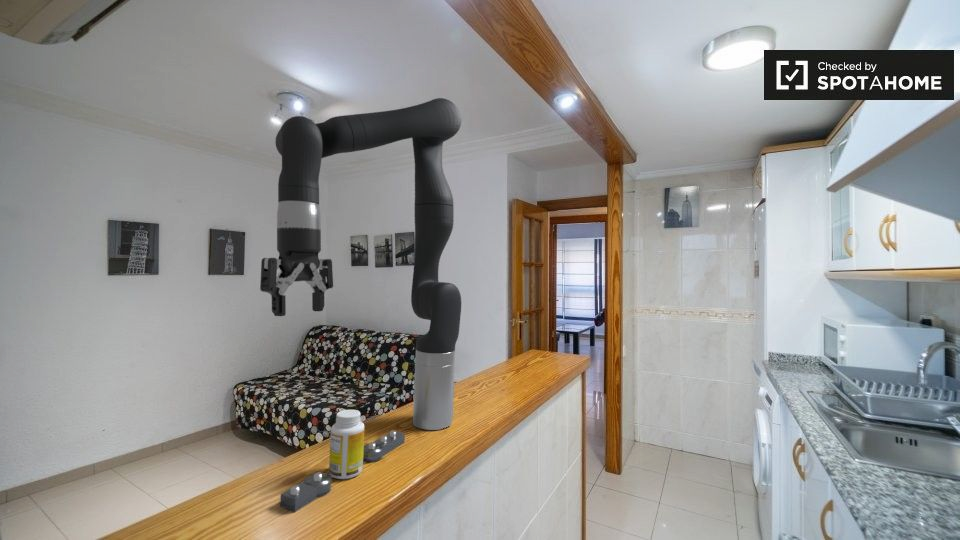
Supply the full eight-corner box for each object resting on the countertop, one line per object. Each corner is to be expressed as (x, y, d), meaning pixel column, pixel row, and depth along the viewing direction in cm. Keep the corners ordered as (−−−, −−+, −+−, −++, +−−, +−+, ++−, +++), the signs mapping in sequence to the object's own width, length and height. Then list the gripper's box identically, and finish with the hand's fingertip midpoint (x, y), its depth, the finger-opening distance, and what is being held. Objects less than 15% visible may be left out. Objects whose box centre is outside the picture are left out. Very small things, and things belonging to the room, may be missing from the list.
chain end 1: (317, 481, 64) (318, 465, 64) (336, 488, 62) (337, 471, 62) (277, 505, 57) (278, 487, 57) (297, 513, 55) (298, 494, 55)
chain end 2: (390, 438, 82) (391, 426, 82) (406, 442, 80) (407, 430, 80) (355, 459, 72) (356, 445, 72) (373, 464, 70) (373, 449, 70)
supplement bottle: (365, 464, 70) (368, 407, 70) (358, 480, 65) (361, 419, 65) (333, 464, 70) (336, 407, 70) (324, 481, 64) (327, 418, 64)
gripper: (279, 222, 65) (280, 319, 65) (342, 230, 78) (342, 310, 78) (250, 225, 68) (250, 316, 69) (315, 231, 81) (315, 308, 81)
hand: (299, 313), depth 73 cm, fingers open, 8 cm apart
